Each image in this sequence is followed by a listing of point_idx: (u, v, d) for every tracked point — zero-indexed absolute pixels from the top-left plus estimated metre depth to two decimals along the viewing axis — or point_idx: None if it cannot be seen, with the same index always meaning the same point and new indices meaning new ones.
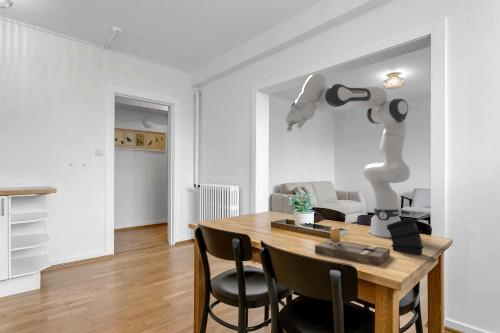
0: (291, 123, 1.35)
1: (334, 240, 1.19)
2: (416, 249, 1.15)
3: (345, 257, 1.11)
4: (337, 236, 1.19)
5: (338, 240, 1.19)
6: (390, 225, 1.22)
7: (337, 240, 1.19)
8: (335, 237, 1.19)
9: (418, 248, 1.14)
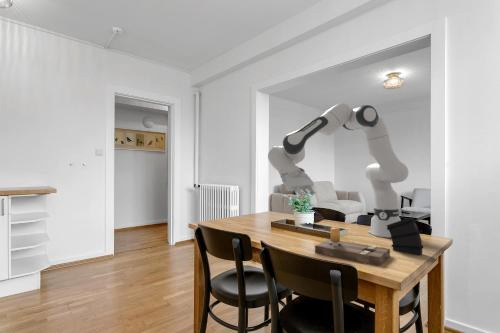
0: (308, 187, 1.35)
1: (334, 240, 1.19)
2: (416, 249, 1.15)
3: (345, 257, 1.11)
4: (337, 236, 1.19)
5: (338, 240, 1.19)
6: (390, 225, 1.22)
7: (337, 240, 1.19)
8: (335, 236, 1.19)
9: (418, 248, 1.14)
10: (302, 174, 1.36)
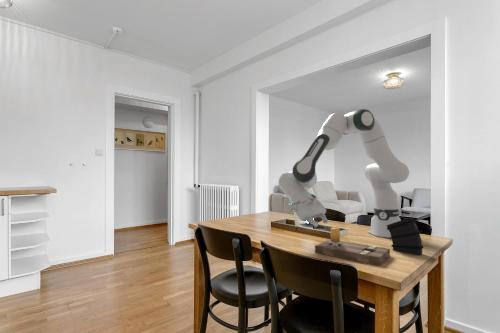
0: (321, 215, 1.31)
1: (334, 240, 1.19)
2: (416, 249, 1.15)
3: (345, 257, 1.11)
4: (337, 236, 1.19)
5: (338, 240, 1.19)
6: (390, 225, 1.22)
7: (337, 240, 1.19)
8: (335, 237, 1.19)
9: (418, 248, 1.14)
10: (314, 201, 1.32)
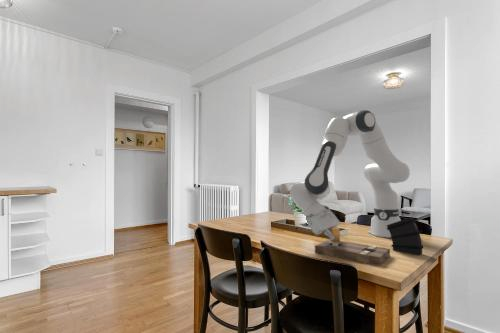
0: None
1: (334, 240, 1.19)
2: (416, 249, 1.15)
3: (345, 257, 1.11)
4: (337, 236, 1.19)
5: (338, 240, 1.19)
6: (390, 225, 1.22)
7: (337, 240, 1.19)
8: None
9: (418, 248, 1.14)
10: (327, 213, 1.28)
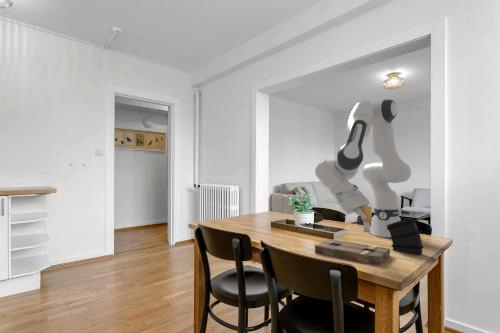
0: None
1: (366, 219, 1.11)
2: (416, 249, 1.15)
3: (345, 257, 1.11)
4: (369, 215, 1.10)
5: (370, 219, 1.11)
6: (390, 225, 1.22)
7: (369, 219, 1.10)
8: (367, 215, 1.10)
9: (418, 248, 1.14)
10: (356, 192, 1.19)
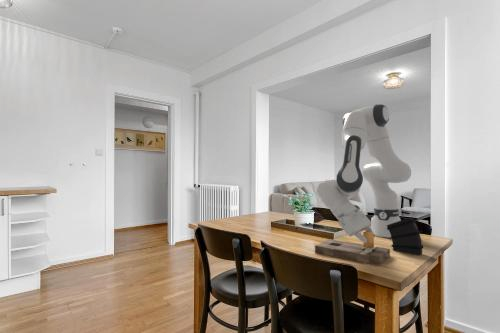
0: (366, 228, 1.17)
1: (368, 246, 1.10)
2: (416, 249, 1.15)
3: (345, 257, 1.11)
4: (371, 241, 1.10)
5: (372, 246, 1.10)
6: (390, 225, 1.22)
7: (371, 246, 1.10)
8: (369, 242, 1.10)
9: (418, 248, 1.14)
10: (358, 213, 1.19)
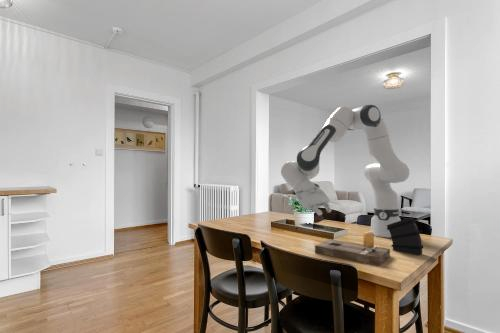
0: (324, 204, 1.30)
1: (368, 246, 1.10)
2: (416, 249, 1.15)
3: (345, 257, 1.11)
4: (371, 241, 1.10)
5: (372, 246, 1.10)
6: (390, 225, 1.22)
7: (371, 246, 1.10)
8: (369, 242, 1.10)
9: (418, 248, 1.14)
10: (317, 190, 1.31)
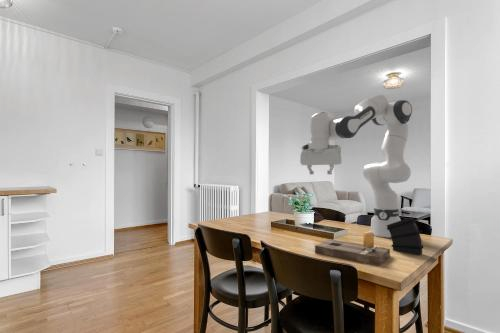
0: (310, 165, 1.38)
1: (368, 246, 1.10)
2: (416, 249, 1.15)
3: (345, 257, 1.11)
4: (371, 241, 1.10)
5: (372, 246, 1.10)
6: (390, 225, 1.22)
7: (371, 246, 1.10)
8: (369, 242, 1.10)
9: (418, 248, 1.14)
10: None
